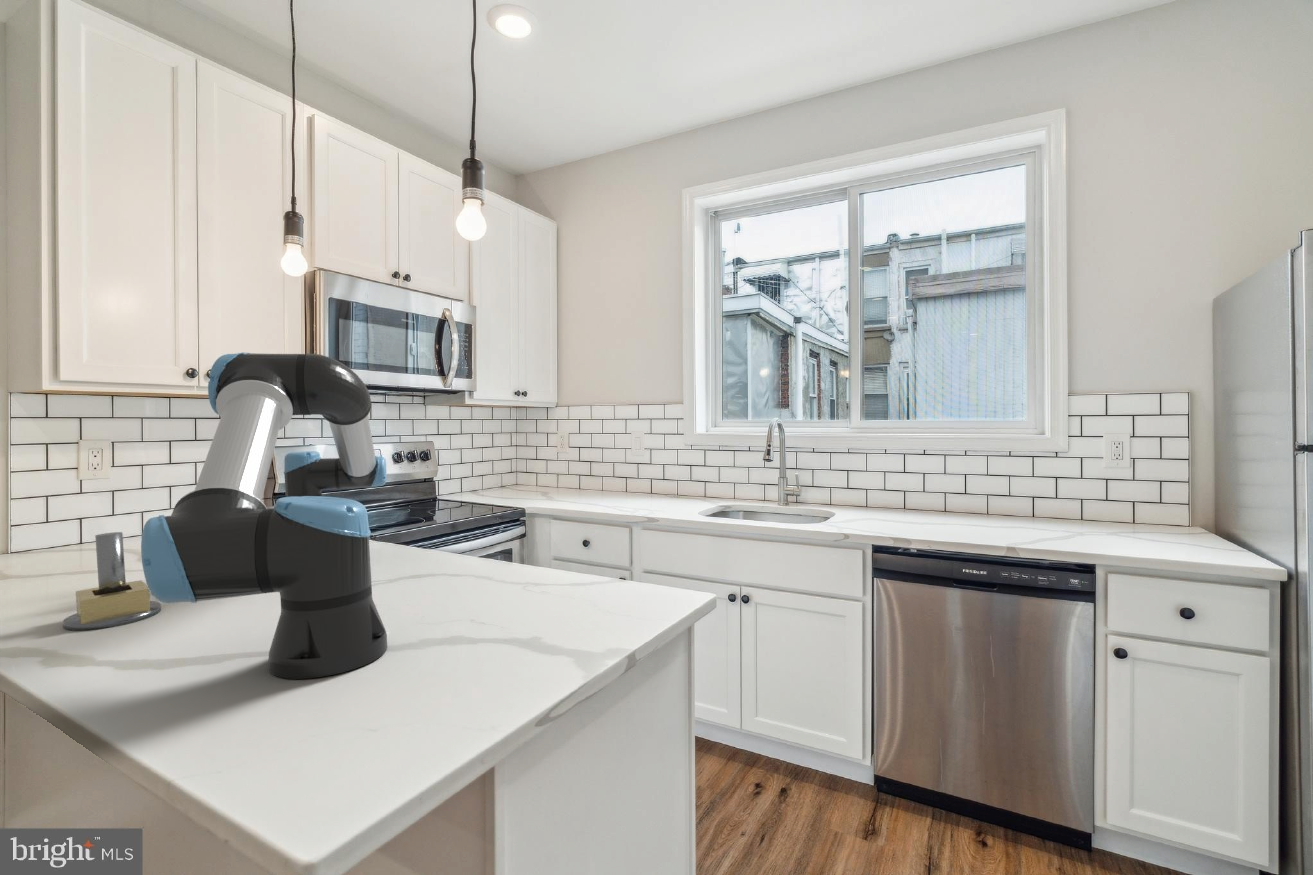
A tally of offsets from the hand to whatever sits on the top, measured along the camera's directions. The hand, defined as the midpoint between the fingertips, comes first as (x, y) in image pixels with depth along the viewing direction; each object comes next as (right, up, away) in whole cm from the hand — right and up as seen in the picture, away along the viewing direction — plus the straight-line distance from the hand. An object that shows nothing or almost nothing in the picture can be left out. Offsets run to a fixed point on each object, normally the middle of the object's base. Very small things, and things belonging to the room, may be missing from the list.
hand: (167, 544), depth 118 cm
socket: (-3, -12, -9) cm, 15 cm away
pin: (-3, -11, -9) cm, 14 cm away
